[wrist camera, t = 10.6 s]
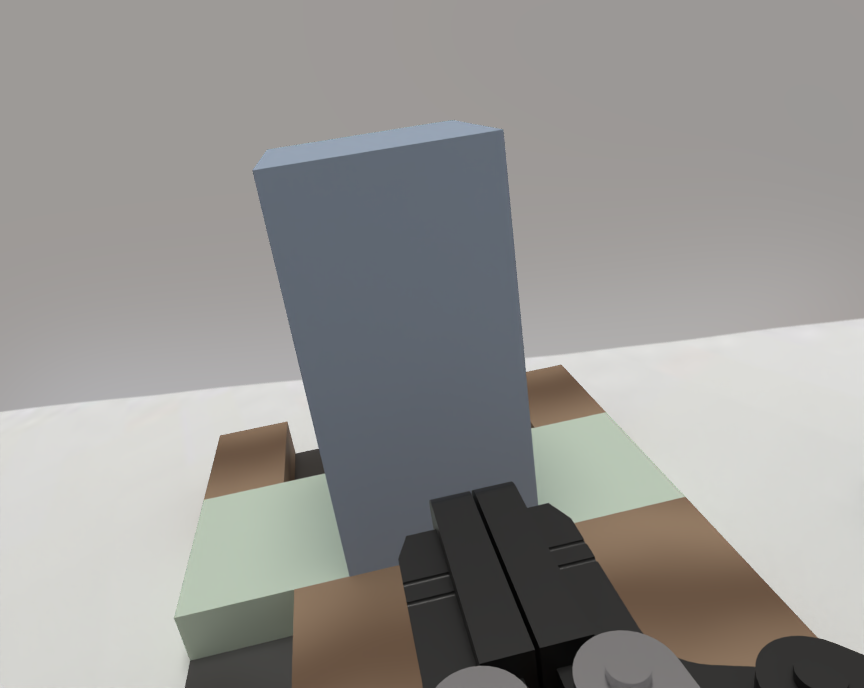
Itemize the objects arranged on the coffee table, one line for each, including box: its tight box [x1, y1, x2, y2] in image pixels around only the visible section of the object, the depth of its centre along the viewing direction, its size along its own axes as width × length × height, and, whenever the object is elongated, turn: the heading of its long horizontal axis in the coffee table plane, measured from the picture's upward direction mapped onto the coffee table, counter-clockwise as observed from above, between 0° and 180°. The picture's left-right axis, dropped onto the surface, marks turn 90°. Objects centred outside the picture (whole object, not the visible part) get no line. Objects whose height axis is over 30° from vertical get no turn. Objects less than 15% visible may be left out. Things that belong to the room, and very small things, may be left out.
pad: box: [174, 412, 685, 661], centre depth 23 cm, size 6×16×2 cm, turn 100°
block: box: [253, 120, 538, 577], centre depth 20 cm, size 6×6×12 cm
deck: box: [185, 365, 817, 688], centre depth 17 cm, size 30×16×2 cm, turn 10°
